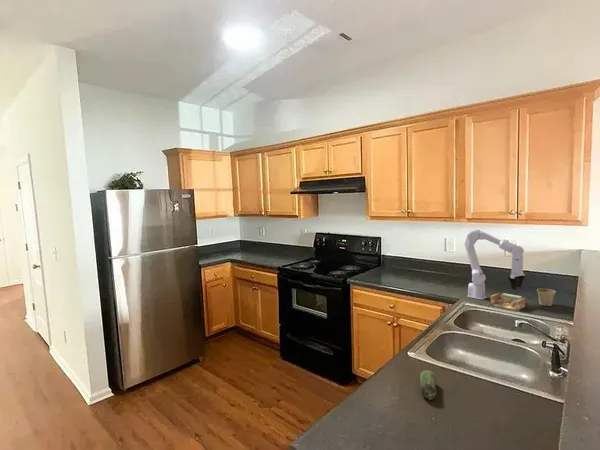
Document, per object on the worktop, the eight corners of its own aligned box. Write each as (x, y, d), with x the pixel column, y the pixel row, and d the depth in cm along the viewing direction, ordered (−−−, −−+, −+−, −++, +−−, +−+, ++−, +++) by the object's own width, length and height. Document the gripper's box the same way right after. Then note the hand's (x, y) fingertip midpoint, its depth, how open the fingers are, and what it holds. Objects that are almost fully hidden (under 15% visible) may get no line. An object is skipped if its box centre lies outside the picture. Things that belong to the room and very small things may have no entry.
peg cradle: (490, 304, 206) (490, 296, 206) (497, 301, 213) (498, 292, 213) (518, 310, 195) (518, 301, 194) (525, 306, 201) (525, 297, 201)
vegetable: (420, 379, 124) (420, 366, 124) (435, 382, 122) (435, 368, 122) (419, 401, 111) (420, 386, 110) (437, 404, 109) (437, 389, 109)
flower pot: (536, 301, 212) (537, 287, 211) (555, 303, 206) (556, 289, 205) (535, 305, 204) (535, 290, 204) (554, 308, 198) (555, 293, 198)
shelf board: (500, 300, 215) (500, 294, 214) (503, 299, 218) (503, 293, 217) (518, 304, 207) (518, 298, 207) (521, 302, 210) (521, 296, 210)
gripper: (520, 268, 199) (519, 291, 200) (529, 265, 208) (528, 287, 209) (506, 267, 204) (506, 289, 205) (516, 263, 213) (515, 285, 214)
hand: (516, 288), depth 208 cm, fingers open, 7 cm apart
